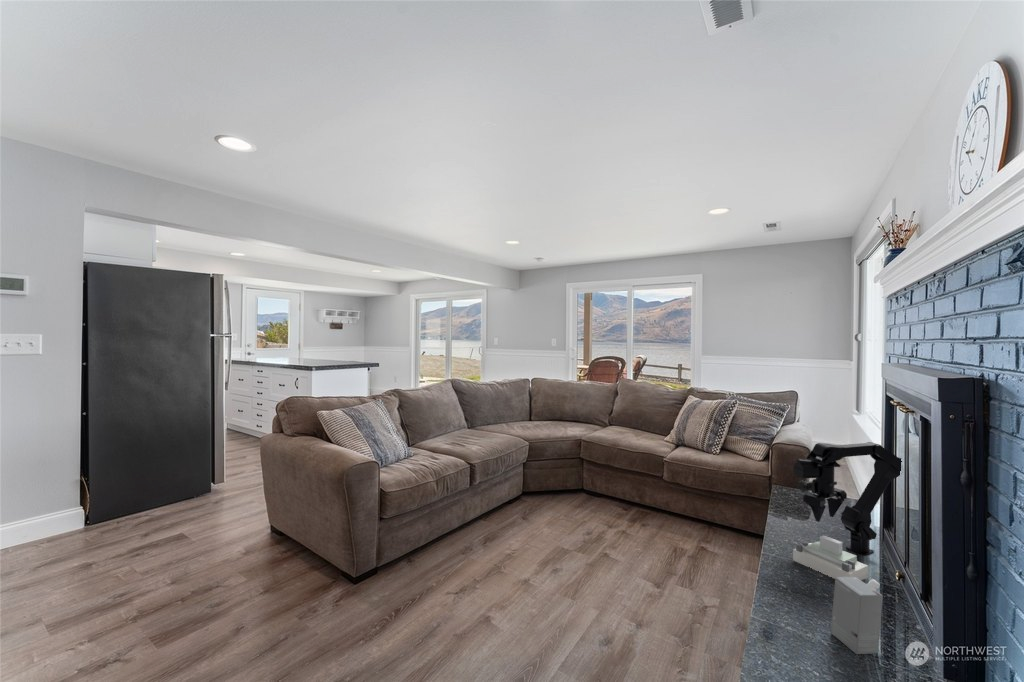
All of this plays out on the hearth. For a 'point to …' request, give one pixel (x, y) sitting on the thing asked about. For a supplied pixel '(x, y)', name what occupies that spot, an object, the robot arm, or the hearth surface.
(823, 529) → the hearth surface
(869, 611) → the skincare box
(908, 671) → the hearth surface
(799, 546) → the white box base
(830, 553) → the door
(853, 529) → the robot arm
